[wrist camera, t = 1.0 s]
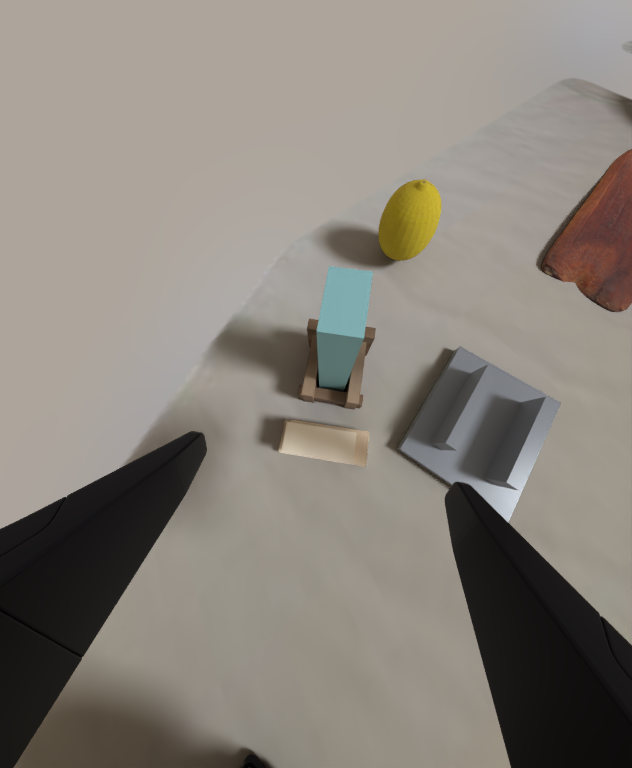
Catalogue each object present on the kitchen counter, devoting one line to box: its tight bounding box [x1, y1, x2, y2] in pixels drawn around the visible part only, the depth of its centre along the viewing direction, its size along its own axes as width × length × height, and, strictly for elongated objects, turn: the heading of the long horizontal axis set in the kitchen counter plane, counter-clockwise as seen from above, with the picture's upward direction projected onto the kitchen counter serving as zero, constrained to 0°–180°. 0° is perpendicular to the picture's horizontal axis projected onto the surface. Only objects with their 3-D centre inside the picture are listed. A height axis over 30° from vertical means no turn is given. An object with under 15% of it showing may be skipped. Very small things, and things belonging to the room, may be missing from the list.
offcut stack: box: [278, 420, 369, 467], centre depth 21 cm, size 3×8×3 cm, turn 81°
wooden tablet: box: [541, 149, 632, 312], centre depth 27 cm, size 27×10×2 cm, turn 140°
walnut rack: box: [298, 319, 376, 409], centre depth 22 cm, size 7×6×4 cm
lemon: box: [378, 179, 441, 261], centre depth 23 cm, size 6×6×8 cm
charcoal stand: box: [397, 347, 561, 522], centre depth 20 cm, size 12×10×4 cm
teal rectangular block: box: [317, 266, 373, 392], centre depth 18 cm, size 4×2×12 cm, turn 170°
